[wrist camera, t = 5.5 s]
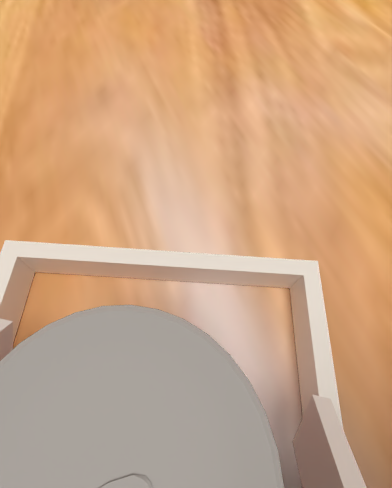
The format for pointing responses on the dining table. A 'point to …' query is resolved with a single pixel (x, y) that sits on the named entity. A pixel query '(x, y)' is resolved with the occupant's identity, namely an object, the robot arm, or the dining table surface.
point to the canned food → (130, 407)
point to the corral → (188, 270)
